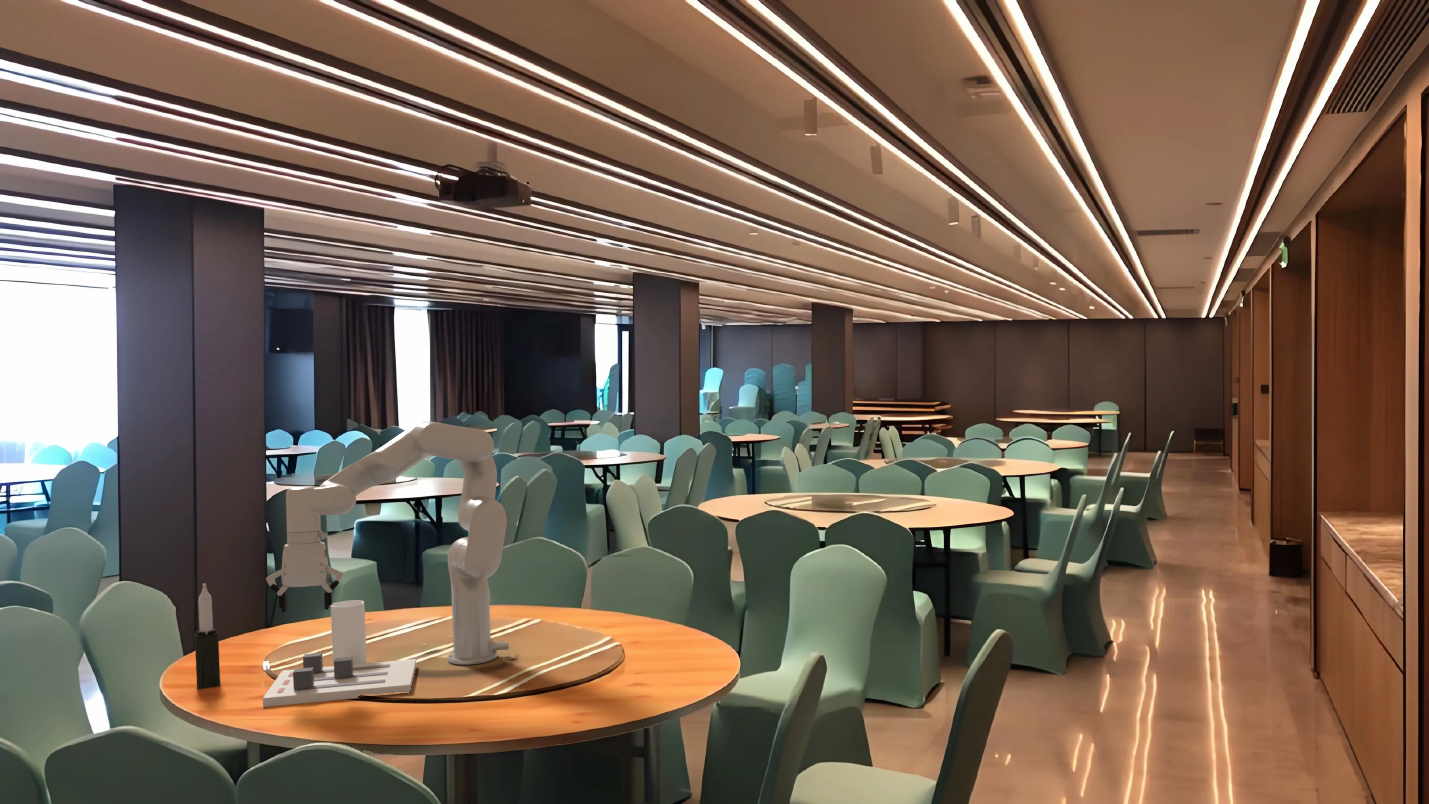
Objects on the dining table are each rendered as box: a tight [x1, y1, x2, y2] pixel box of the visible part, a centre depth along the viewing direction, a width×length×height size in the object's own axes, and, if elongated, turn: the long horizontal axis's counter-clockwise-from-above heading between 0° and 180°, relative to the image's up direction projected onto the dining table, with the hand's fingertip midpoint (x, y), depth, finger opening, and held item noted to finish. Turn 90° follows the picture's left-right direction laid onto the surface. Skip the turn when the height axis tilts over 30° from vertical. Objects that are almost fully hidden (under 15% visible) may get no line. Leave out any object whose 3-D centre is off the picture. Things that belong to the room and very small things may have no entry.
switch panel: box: [262, 652, 417, 708], centre depth 252 cm, size 32×24×6 cm
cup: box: [330, 599, 368, 666], centre depth 271 cm, size 8×8×16 cm
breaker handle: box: [334, 657, 353, 678], centre depth 252 cm, size 4×3×4 cm
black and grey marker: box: [194, 582, 221, 690], centre depth 256 cm, size 5×5×25 cm
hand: (305, 609), depth 250 cm, fingers open, 9 cm apart
